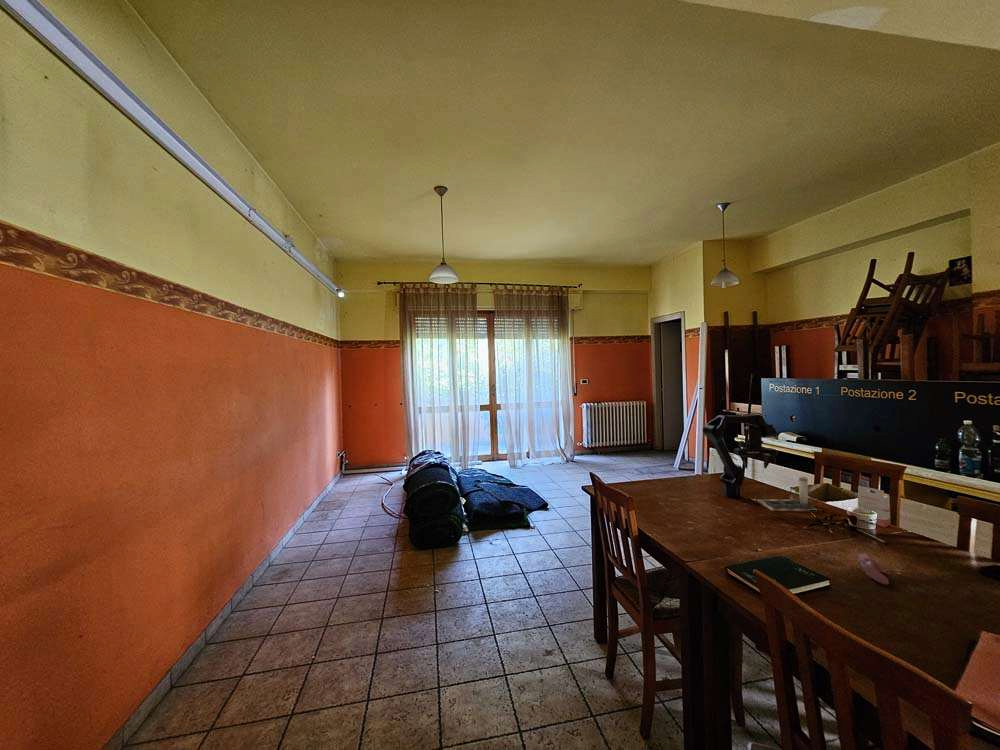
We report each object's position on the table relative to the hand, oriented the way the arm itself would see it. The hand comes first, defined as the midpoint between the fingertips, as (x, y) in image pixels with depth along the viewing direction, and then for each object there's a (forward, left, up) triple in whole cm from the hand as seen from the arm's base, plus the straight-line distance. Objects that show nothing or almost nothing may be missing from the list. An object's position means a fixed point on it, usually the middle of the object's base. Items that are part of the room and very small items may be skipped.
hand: (755, 468), depth 192 cm
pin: (+9, -21, -12) cm, 26 cm away
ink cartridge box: (+26, -36, -13) cm, 46 cm away
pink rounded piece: (-9, -78, -13) cm, 79 cm away
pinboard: (+3, -18, -13) cm, 22 cm away
